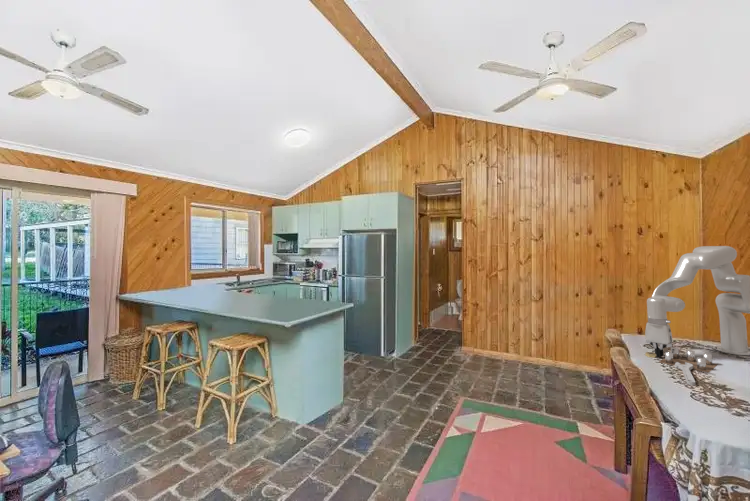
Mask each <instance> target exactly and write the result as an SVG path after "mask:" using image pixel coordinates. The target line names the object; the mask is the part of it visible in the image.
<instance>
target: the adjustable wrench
mask: <svg viewBox="0 0 750 501" xmlns="http://www.w3.org/2000/svg"><path fill="white" fill-rule="evenodd" d="M674 368H675V369H678V370H681V371H682V373H683V375H684V380H685V381H686V384H687V385H690V386H696V380H695V378H694V376H693V374H692V372H691V370H694V369H693V365H692V364H690V363H687V362H685V365H681V364H680V363H679V362H676V363H675V366H674Z"/></svg>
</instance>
